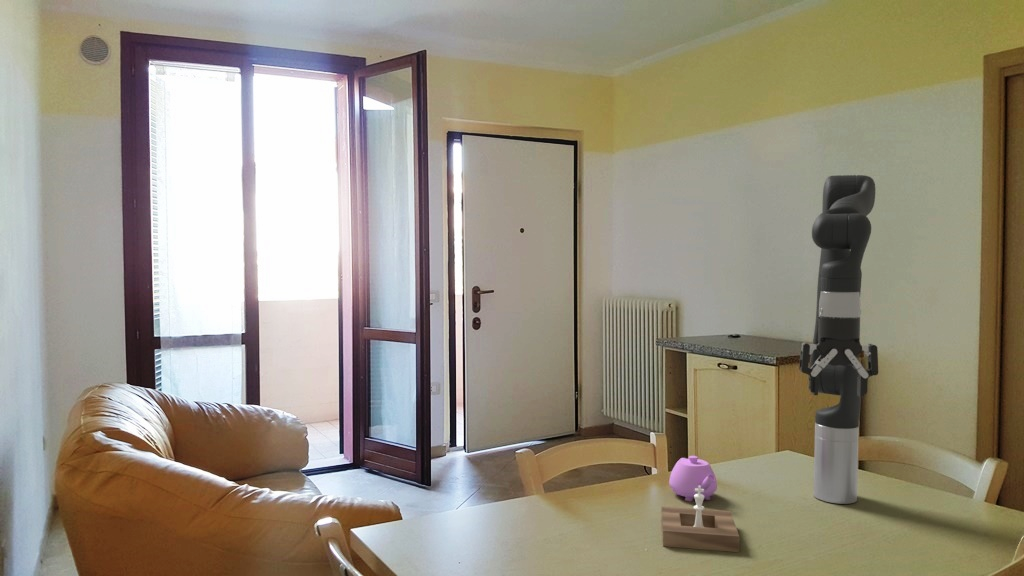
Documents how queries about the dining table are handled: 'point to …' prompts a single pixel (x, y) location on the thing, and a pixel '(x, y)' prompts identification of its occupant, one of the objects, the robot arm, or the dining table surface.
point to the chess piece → (699, 507)
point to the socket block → (699, 529)
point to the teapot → (693, 478)
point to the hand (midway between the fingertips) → (837, 395)
